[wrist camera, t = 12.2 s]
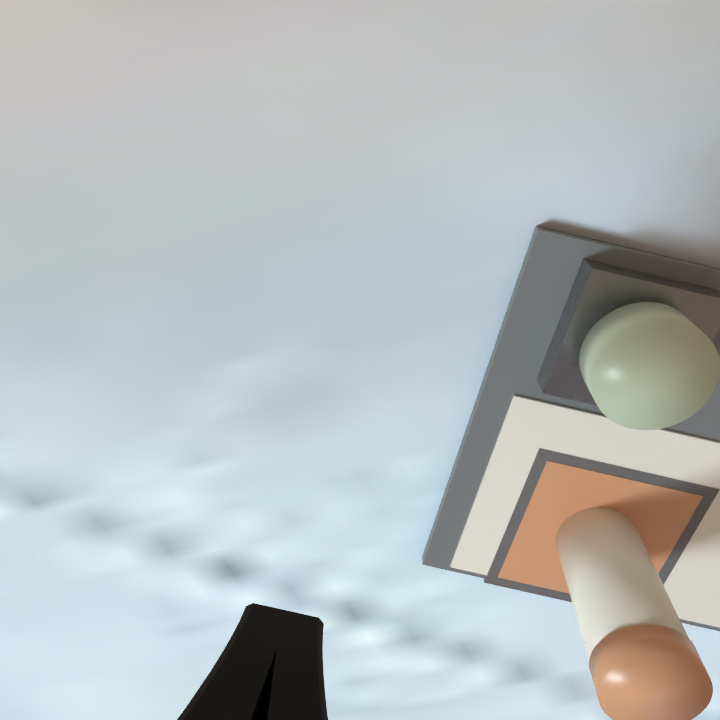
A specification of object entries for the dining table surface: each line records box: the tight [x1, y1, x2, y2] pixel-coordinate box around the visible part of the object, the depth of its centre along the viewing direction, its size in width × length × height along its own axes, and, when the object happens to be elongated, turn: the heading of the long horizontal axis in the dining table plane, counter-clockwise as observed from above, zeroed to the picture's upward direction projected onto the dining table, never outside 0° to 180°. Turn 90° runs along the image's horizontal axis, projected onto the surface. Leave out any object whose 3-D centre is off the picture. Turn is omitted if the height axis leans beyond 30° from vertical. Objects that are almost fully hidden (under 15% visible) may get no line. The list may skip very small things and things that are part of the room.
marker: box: [555, 508, 713, 720], centre depth 19 cm, size 3×3×6 cm
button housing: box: [537, 258, 720, 406], centre depth 18 cm, size 4×4×1 cm
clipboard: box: [422, 226, 720, 631], centre depth 21 cm, size 15×13×1 cm
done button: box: [579, 302, 720, 430], centre depth 17 cm, size 3×3×3 cm
